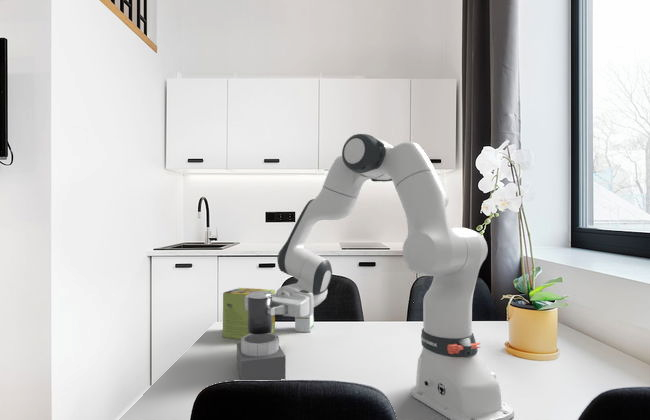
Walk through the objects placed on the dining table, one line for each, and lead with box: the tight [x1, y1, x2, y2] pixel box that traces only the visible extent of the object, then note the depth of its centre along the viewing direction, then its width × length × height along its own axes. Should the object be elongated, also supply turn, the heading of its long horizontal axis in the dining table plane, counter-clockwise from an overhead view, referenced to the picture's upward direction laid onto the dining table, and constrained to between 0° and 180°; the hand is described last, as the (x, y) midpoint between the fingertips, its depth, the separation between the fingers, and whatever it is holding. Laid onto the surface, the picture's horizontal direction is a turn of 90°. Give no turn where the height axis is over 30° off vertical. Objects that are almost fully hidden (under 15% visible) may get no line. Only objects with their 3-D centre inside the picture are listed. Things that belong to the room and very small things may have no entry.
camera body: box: [236, 333, 287, 380], centre depth 102 cm, size 14×11×9 cm
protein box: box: [222, 287, 276, 340], centre depth 133 cm, size 10×15×16 cm
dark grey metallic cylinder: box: [248, 291, 272, 334], centre depth 102 cm, size 6×6×10 cm
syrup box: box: [294, 307, 315, 333], centre depth 139 cm, size 6×6×14 cm
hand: (257, 310), depth 101 cm, fingers closed on dark grey metallic cylinder, 6 cm apart
